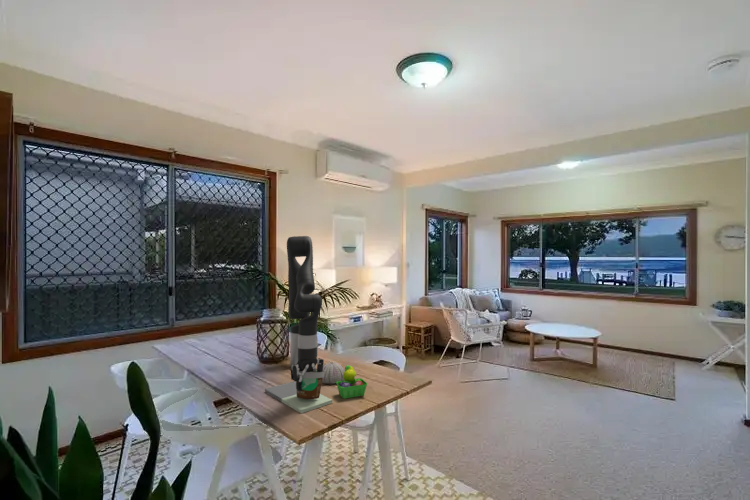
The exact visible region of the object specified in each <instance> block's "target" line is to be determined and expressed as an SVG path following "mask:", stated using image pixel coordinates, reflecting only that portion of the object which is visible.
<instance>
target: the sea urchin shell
mask: <svg viewBox="0 0 750 500" xmlns="http://www.w3.org/2000/svg"><path fill="white" fill-rule="evenodd" d="M344 371H345V368H344V367H343V366H342V365H341V364H340V363H338V362H333V361H332V362H328V363H326V364H323V373H324V377H323V378H322V384H336V382H337V381H343V380H344V378H343V374H344Z"/></svg>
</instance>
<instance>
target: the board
mask: <svg viewBox="0 0 750 500" xmlns="http://www.w3.org/2000/svg"><path fill="white" fill-rule="evenodd" d="M264 392H265V393H267V395H270V396H271V397H273V398H275V399H276V400H278V401H279V402H281V403H282V404H285V405H286V406H288V407H290V408H291V409H292V410H294V411H296V412H298V413H300V414H304V413H307V412H309V411H312V410H315V409H319V408H321V407H324V406H327V405H331V404H333V399H331V398H329V397H328V396H326V395H323V394H321V393H320V396H319V398H317V399H301V398H298V397H297V389H296V382H295V381H294V380H292V381H289V382H286V383H283V384H279V385H275V386H271V387H267V388H264Z"/></svg>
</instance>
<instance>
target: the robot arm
mask: <svg viewBox="0 0 750 500" xmlns="http://www.w3.org/2000/svg"><path fill="white" fill-rule="evenodd" d="M312 240H313V239H312V238H311V237H310V236H307V235H297V236H295V235H294V236H289V237H288V238H287V239H286V254H287V255H286V256H287V262H288V263H287V265H288V269H287V270H288V273H287V274H288V275H287V280H288V282H287V285H288V308H287V309H288V311H287V312H288V317H289V318H290V319H293V320H299V322H298V323H297V324H294V325H292V326H291V327H290V358H289V359H290V360H289V361H290V362H289V364H290V366H289V367H290V369H289V370H290V378H291V379H290V380H292V381H295V382H296V389H297V391H299V392H300V391H302V382H301V380H302V376H304V374H305V372H323V365H324V363H325V360H324V358H318V322H319V321H318V320H319V316H320V313H321V310H322V305H323V299H322V296H321V295H320V294H318V293H314V292H315V290H316V286H315V278H314V277H315V276H314V249H313V241H312ZM302 257H305V259H304V261H303V263H302V264H300V263H299V262H298V260H297V258H302ZM297 368H299V369H298V372H297ZM299 371H302V373H300V372H299ZM298 375H300V377H298Z"/></svg>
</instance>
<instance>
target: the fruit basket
mask: <svg viewBox="0 0 750 500" xmlns="http://www.w3.org/2000/svg"><path fill="white" fill-rule="evenodd" d="M344 370H345V371H344V374H343V378H344V380H343V381H337V382H336V383H335V384H336V385H337V390H338V394H339V396H340V397H341V398H342V399H348V398H349V399H350V398H355V397H363V395H365V392H366V389H367V386H368V382H366V380H364V379H363V378H361V377H360V378H359V377H358V378H355V377H357V372H356V370H355V369H354V367H353V366H351V365H350V364H349V365H346V366H345V368H344Z"/></svg>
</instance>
